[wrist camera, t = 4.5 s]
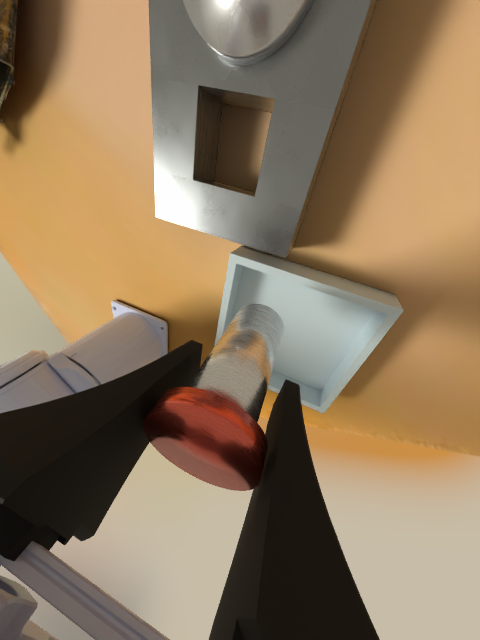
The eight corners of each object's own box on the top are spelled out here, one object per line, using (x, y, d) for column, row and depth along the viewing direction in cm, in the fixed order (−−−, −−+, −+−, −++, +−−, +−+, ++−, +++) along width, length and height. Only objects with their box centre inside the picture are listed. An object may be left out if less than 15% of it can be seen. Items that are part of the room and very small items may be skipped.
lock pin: (283, 361, 14) (247, 503, 8) (223, 340, 15) (149, 454, 9) (304, 307, 12) (276, 456, 6) (231, 285, 13) (134, 392, 6)
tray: (324, 393, 22) (323, 413, 20) (221, 349, 24) (211, 364, 22) (394, 294, 15) (404, 310, 13) (241, 245, 18) (230, 253, 16)
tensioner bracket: (292, 248, 16) (282, 262, 13) (179, 213, 18) (146, 218, 15) (416, -114, 8) (468, -307, 5) (188, -112, 10) (119, -252, 7)
